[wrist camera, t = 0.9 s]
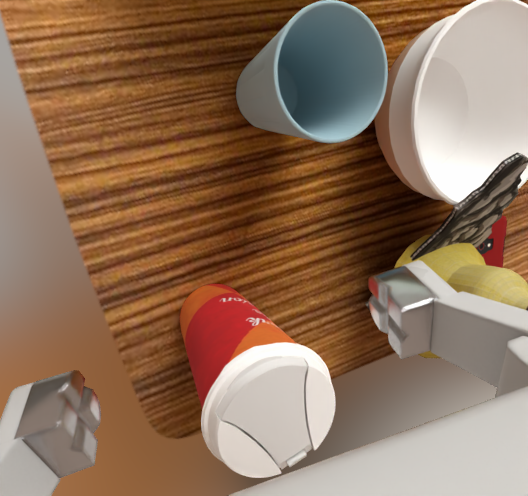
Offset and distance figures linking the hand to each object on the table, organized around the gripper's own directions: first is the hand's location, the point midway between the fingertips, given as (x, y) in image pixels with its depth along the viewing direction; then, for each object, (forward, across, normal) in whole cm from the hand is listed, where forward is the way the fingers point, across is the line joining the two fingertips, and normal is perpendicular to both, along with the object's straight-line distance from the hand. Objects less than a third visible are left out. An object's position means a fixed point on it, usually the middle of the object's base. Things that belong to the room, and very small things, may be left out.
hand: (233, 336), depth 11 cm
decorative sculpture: (+17, -16, +13) cm, 27 cm away
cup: (+25, -7, 0) cm, 26 cm away
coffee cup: (+19, +2, +15) cm, 25 cm away
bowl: (+26, -22, +5) cm, 35 cm away
